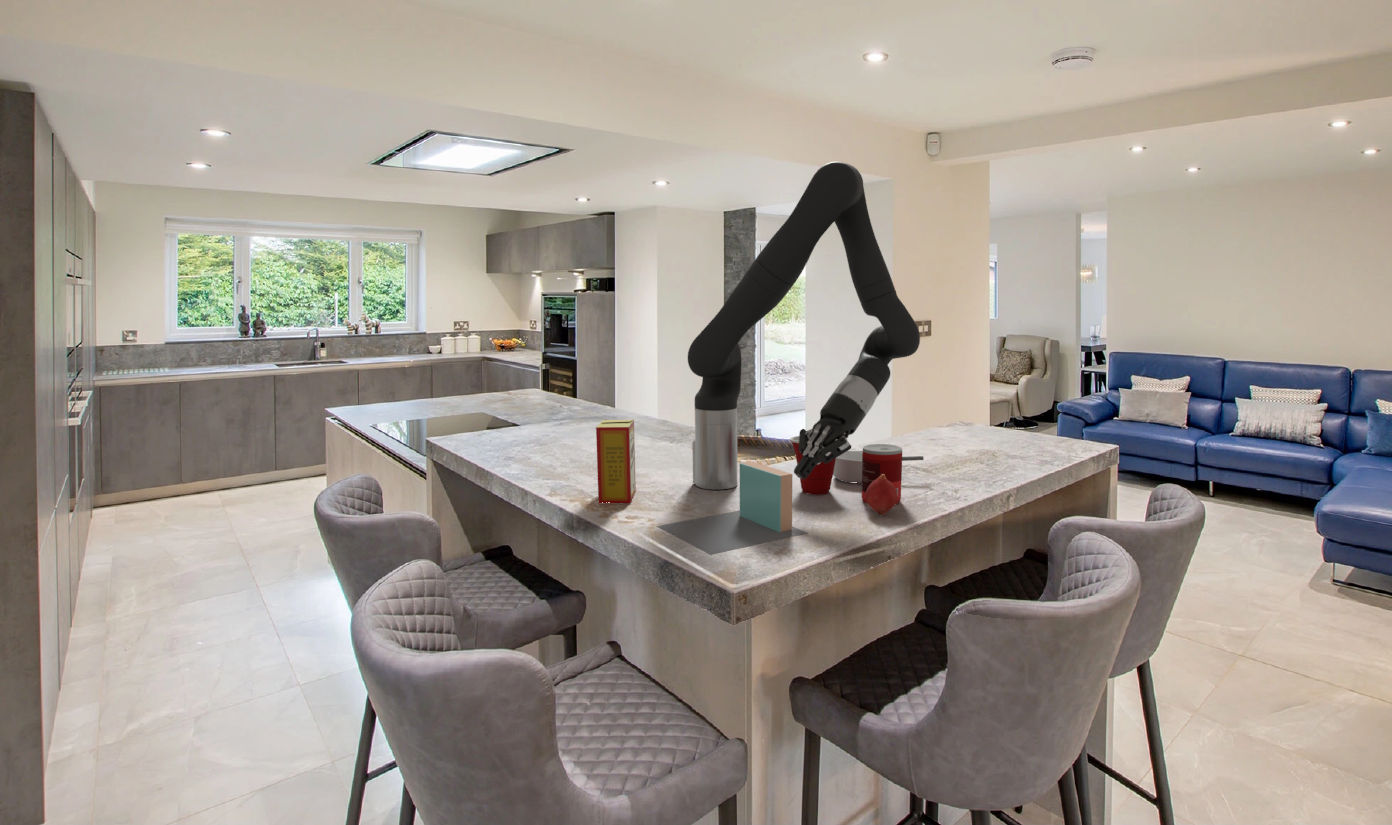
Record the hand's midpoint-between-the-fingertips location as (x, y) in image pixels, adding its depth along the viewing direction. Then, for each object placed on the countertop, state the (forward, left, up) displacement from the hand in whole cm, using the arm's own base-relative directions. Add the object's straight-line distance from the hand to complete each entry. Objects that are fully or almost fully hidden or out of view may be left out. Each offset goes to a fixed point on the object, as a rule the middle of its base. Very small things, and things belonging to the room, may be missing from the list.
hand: (799, 475), depth 138 cm
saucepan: (-9, +35, -8) cm, 37 cm away
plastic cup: (-11, +17, -8) cm, 22 cm away
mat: (-2, -15, -8) cm, 17 cm away
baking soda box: (-35, -17, -8) cm, 40 cm away
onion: (+9, +13, -8) cm, 18 cm away
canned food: (+3, +21, -8) cm, 23 cm away
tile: (-1, -8, -8) cm, 11 cm away
